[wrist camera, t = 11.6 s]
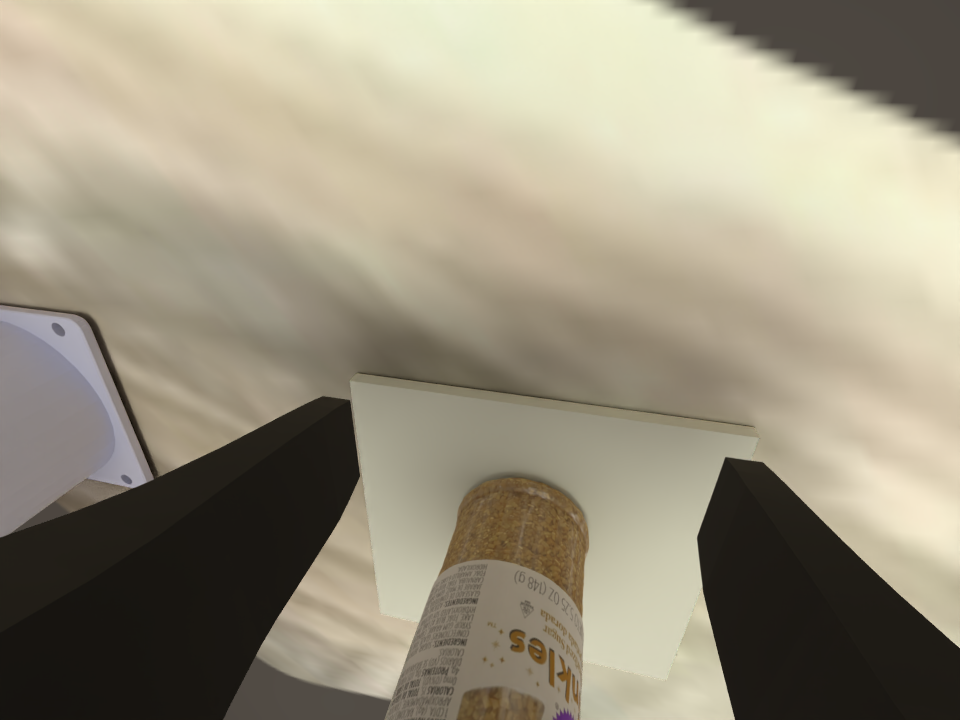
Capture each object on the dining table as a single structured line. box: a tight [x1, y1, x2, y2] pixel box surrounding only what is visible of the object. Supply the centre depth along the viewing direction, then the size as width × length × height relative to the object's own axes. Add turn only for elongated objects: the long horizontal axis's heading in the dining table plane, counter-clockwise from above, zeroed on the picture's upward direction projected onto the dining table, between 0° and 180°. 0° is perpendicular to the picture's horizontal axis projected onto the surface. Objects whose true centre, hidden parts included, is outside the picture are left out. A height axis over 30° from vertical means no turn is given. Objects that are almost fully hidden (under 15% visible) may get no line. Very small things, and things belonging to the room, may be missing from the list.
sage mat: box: [350, 373, 760, 681], centre depth 17 cm, size 12×12×1 cm
